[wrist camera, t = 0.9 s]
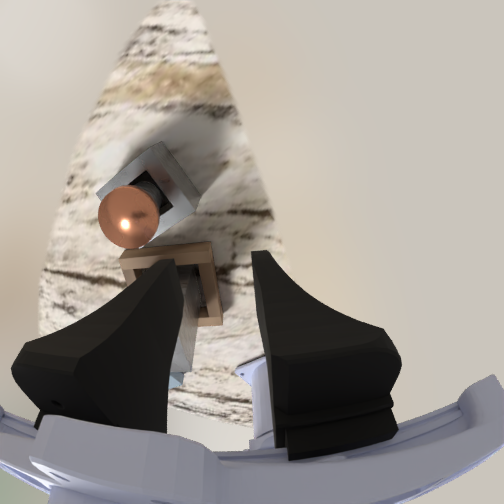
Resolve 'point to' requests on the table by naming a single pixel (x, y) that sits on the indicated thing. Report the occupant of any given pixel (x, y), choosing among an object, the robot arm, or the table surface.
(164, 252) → the walnut socket
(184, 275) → the grey metal block
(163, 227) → the frame
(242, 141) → the table surface
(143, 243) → the plunger
